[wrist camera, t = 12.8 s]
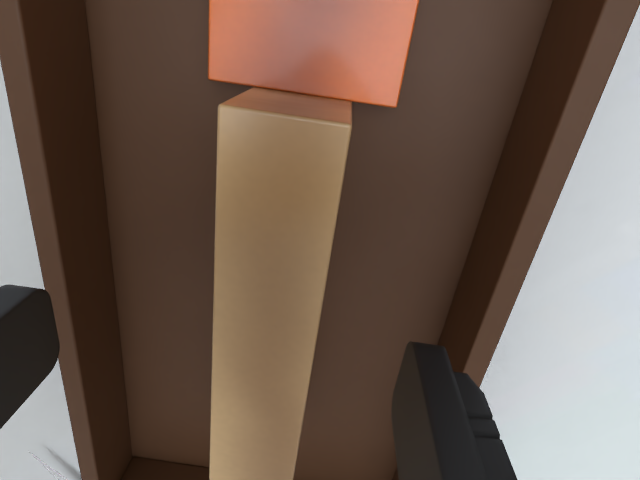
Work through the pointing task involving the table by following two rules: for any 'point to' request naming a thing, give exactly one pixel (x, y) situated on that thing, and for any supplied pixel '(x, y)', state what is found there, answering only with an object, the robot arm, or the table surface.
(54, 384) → the table surface
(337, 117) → the tan and orange bar
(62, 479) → the scissors
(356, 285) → the tray
